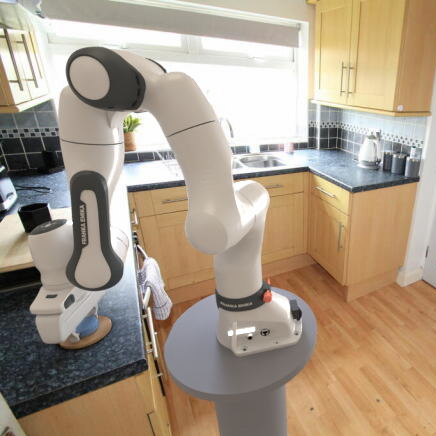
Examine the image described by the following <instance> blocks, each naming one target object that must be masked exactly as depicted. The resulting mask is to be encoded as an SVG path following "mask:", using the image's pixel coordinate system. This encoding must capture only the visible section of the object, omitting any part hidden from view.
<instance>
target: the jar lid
mask: <svg viewBox="0 0 436 436" xmlns="http://www.w3.org/2000/svg"><path fill="white" fill-rule="evenodd" d="M98 327H99V321H98V319H97V318H96V317H95V316H87V315H86V317H85V318H84V319H83V320H82V321H81V322H80V324H79V325H78V326H77V327H76V331H75V333H81V336H82V337H85V336H87V335H90V334H91V333H93V332H94V331H95V330H96V329H97V328H98Z"/></svg>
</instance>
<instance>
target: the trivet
mask: <svg viewBox="0 0 436 436" xmlns="http://www.w3.org/2000/svg"><path fill="white" fill-rule="evenodd" d="M97 319H98V321H99V327H98V328H97V329H96V330H95V331H94V332H93V333H91V334H90V335H87V336H85V337H82V338H81V339H80V340H79V342H74V343H72V342H71V341H70V338H69V337H68V338H67V339H66V340H65V341H64V342H63V343H58V345H60V347H61V348H63V349H67V350H76V349H77V350H78V349H82V348H86V347H88V346H91V345H93V344H95V343H97V342H99V341H101V340H102V339H103V338H104V337H106V336H107V335H108V333H110V331H111V329H112V325H113V324H112V321H111V319H110V318H109V317H108V316H104V315H98V318H97Z"/></svg>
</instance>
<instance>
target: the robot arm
mask: <svg viewBox="0 0 436 436" xmlns="http://www.w3.org/2000/svg"><path fill="white" fill-rule="evenodd" d="M65 78H66V81H67V84H68V85H66V86H64V87H63V88H62V89H61V91H60V93H59V99H58V109H57V122H58V123H57V124H58V125H57V126H58V135H59V136H58V137H59V144H60V150H61V155H62V160H63V164H64V165H63V166H64V169H65V174H66V175H65V176H66V181H67V185H68V191H69V195H70V209H71V210H70V211H71V220H69V219H67V218H58V219H53V220H49V221H46V222H43V223H42V224H40V225H37V226H36V227H35V228H33V230H32V231H31V232H29V234H28V236H27V245H28V248H29V249H28V250H29V252H30V256H31V258H32V262H33V265H34V266H35V268H36V269H37V270H38V271H39V273H40V282H41V284H42V286H41V287H40V288H39V291H38V293H37V295H36V297H35V298H34V300H33V301H32V303H31V305H30V306H29V313H31V315H36V316H35V326H36V329H37V331H38V334H39V336H40V339H41V341H42V342H43V343H44V344H48V345H55V344H59V343H63V342H64V341H65V340H66V339H67V338H68V337H69V338H70V341H71V342H72V343H74V342H79V340H80V339H81V338H82V336H81V333H75V331H76V327H77V326H78V325H79V324H80V322H81V321H82V320H83V319H84V318H85V317H86V316H95V317H96V318H98V316H99V315H98V309H99V308H98V307H99V302H100V301H101V299H102V298H103V296H105V294H106V293H107V290H108V289H112V288H113V287H115V286H116V285H118V284H119V283H120V282H121V281H122V279H123V276H124V271H125V270H124V269H125V263H126V260H127V255H128V251H129V246H130V240H129V238H128V236H127V234H126V233H125V232H124V231H123V230H121V229H119V228H118V227H114V226H111V225H112V224H111V203H112V200H113V199H112V198H113V195H114V192H115V190H116V188H117V184H118V182H119V181H120V178H121V175H122V173H123V169H124V163H125V150H126V148H125V136H124V121H125V119H126V117H127V116H128V115H129V114H131V113H134V114H142V113H147V112H148V113H149V114H151V115H152V117H154V118H155V120H156V122H157V123H158V125H159V127H160V129H161V132H162V133H163V135H164V137H165V139H166V141H167V143H168V145H169V147H170V150H171V151H172V154H173V155H174V157H175V160H176V162H177V164H178V166H179V169H180V171H181V173H182V176H183V180H184V184H185V189H186V195H187V214H186V218H185V221H184V226H183V229H184V234H185V237H186V239H187V241H188V243H189V244H190V246H191V247H193V248H194V249H195V250H196V251H198V252H200V253H202V254H204V255H208V256H213V259H212V260H213V262H212V265H213V273H214V280H215V288H214V294H215V299H216V304H217V308H218V309H219V317H218V326H217V331H216V337H217V340H218V341H219V343H220V344H222V345H223V346H225V347H227V348H229V349H230V350H231V351H232V352H233V354H234V355H235V356H237V357H242V356H246V355H251V354H256V353H260V352H265V351H269V350H274V349H278V348H283V347H287V346H292V345H295V344H297V342H298V341H299V339H300V337H301V334H302V320H301V317H302V311H301V309H300V308H299V307H298V304H297V300H296V299H294V300H290V302H289V300H288V299H287V298H286V297H284V296H282V295H280V294H277V293H275V292H273V291H271V287H272V286H271V280H270V278H267V281H265V280H264V279H263V272H262V271H263V270H262V250H263V241H264V235H265V225H266V218H267V214H268V210H269V207H270V204H271V203H270V202H271V198H270V195H269V192H268V190H267V189H266V187H265V186H264V185H263V184H261V183H259V182H257V181H255V180H243V181H238V182H235V181H234V174H233V166H234V160H235V155H234V152H233V150H232V147H231V145H230V143H229V140H228V138H227V136H226V133H225V131H224V129H223V127H222V125H221V122H220V121H219V118H218V116H217V113H216V111H215V109H214V107H213V105H212V104H211V102H210V100H209V98H208V97H207V95H206V93H205V92H204V90H203V88H202V87H201V85H200V84H199V83H198V81H197V80H196V79H195V77H194V76H193V75H190V74H189V73H186V72H183V71H168V69H167V68H166V67H165V66H163V65H162V64H161V63H159V62H157V61H156V60H154V59H152V58H149V57H143V56H141V55H138V54H135V53H133V52H130V51H125V50H122V49H113V48H108V47H104V46H86V47H82V48H78V49H77V50H75V51H73V52H72V53H71V54H70V55H69V56H68V59H67V61H66V64H65ZM245 350H246V351H245Z"/></svg>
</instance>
